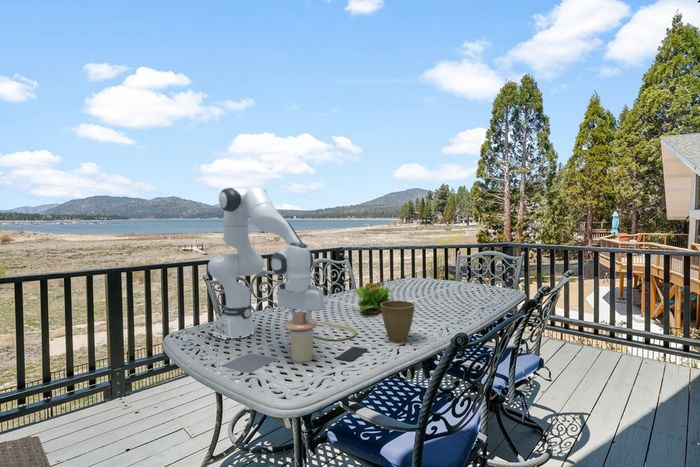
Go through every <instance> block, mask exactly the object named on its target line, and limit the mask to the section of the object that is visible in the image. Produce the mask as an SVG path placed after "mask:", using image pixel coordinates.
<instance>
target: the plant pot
mask: <svg viewBox="0 0 700 467" xmlns="http://www.w3.org/2000/svg"><path fill="white" fill-rule="evenodd" d="M415 307H416V306H415V303H413V302H411V301H405V300H394V301H391V300H390V301H387V302H383V303H381V311H380V312H381V315H382V319H383V324H384V328H385V330H386V335H387V338H388V339H389V341H390V342H392V343H403V342H406V341H407V339H408V337H409V334H410V330H411V327H412V323H413V319H414V312H415Z"/></svg>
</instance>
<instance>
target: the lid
mask: <svg viewBox="0 0 700 467" xmlns="http://www.w3.org/2000/svg"><path fill="white" fill-rule="evenodd" d="M295 312H296V313H294V314H293V317H292V319H291V320H287V321H285V322H284V323H283V327H284V328H285V329H287V330H289V331H290V330H306V329H311V328H313V329H314V328H316V327H317V326H319V325H318V322H319V321H318V320H316V319H313V318H310V320H309V321H308V322H307V321H304V317H305V316H306V314H307V313H306V311H303V310H302V311H295ZM293 318H294V320H293Z"/></svg>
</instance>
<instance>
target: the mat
mask: <svg viewBox="0 0 700 467" xmlns="http://www.w3.org/2000/svg"><path fill="white" fill-rule="evenodd" d="M276 360H278V358H276V357H271V356H266V355H261V354H256V353H251V352H249V353H248V352H247V354H243V355H242V356H239V357H238V358H236V359H233V360H231V361H228V362H226V363H224V364H222V365H220V367H223V368H226V369H231V370H234V371H239V372H244V373H247V374H251V373H253V372H255V371H257V370H259V369H261V368H263V367H266V366H267V365H269V364H271V363H273V362H274V361H275V362H276Z"/></svg>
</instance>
